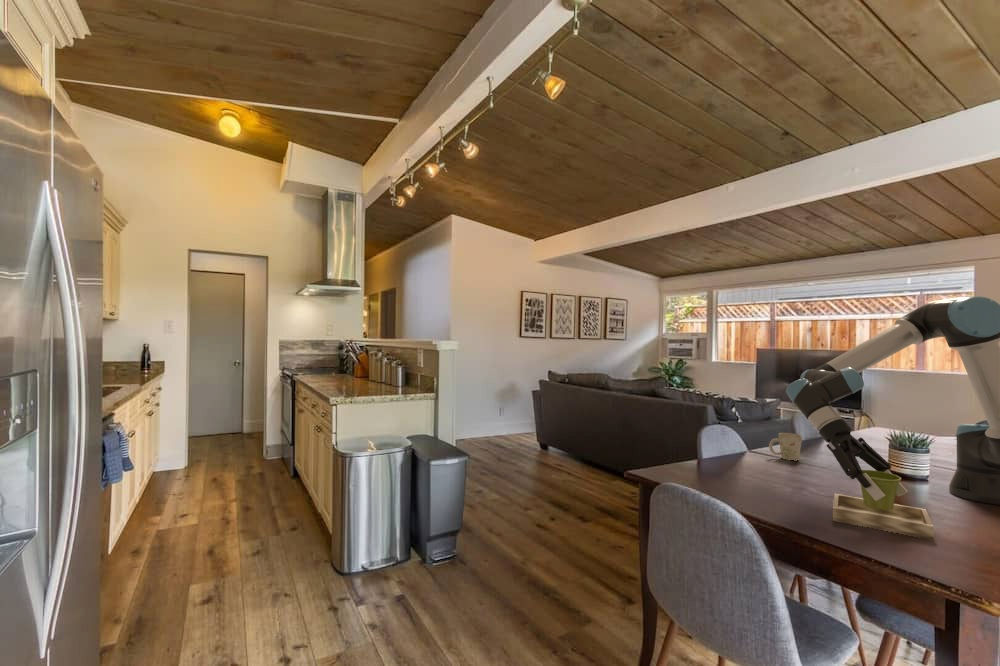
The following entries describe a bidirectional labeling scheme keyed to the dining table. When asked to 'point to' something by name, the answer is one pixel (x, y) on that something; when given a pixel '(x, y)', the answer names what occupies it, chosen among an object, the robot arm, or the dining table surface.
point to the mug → (788, 446)
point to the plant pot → (885, 484)
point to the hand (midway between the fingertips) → (892, 496)
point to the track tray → (883, 517)
